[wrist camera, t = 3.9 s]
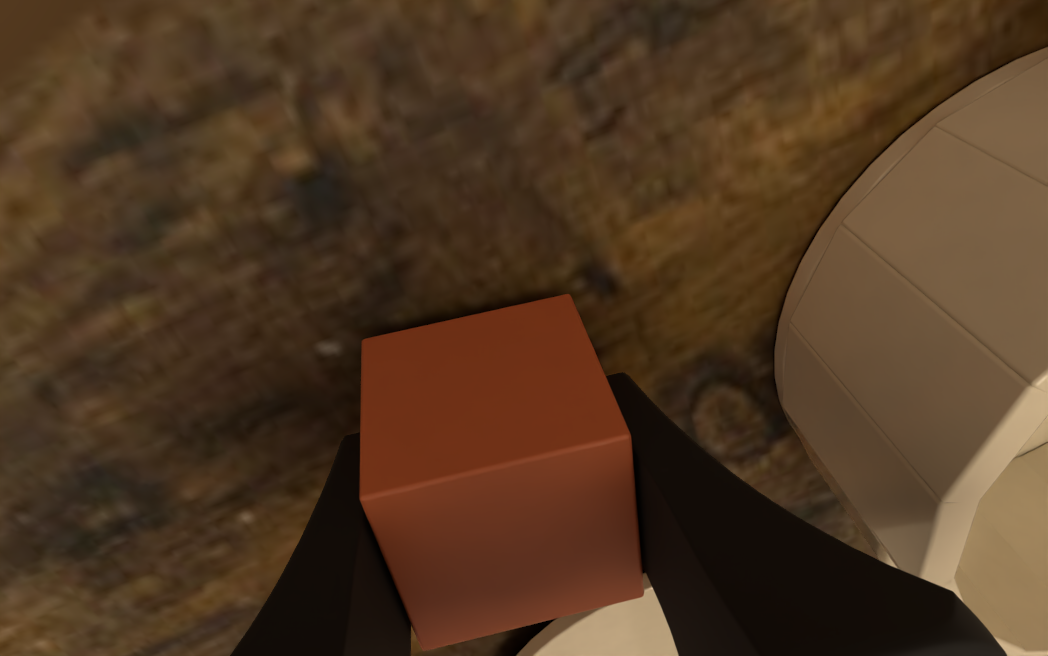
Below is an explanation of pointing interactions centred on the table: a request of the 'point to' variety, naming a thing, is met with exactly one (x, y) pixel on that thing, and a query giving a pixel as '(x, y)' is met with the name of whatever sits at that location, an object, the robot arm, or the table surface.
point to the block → (497, 472)
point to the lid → (608, 631)
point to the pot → (939, 351)
